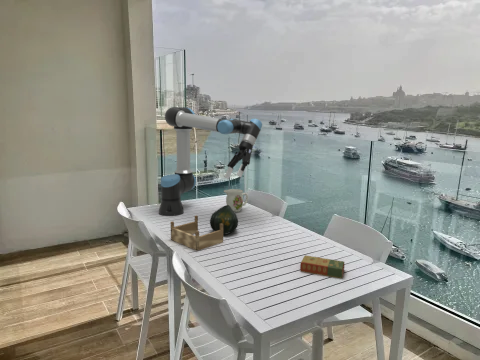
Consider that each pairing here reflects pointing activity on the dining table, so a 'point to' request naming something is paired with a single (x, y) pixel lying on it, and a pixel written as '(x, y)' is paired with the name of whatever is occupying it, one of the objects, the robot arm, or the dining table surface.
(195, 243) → the rack
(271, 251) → the dining table surface
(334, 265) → the carton
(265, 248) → the dining table surface
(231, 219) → the squash
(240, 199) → the pitcher
